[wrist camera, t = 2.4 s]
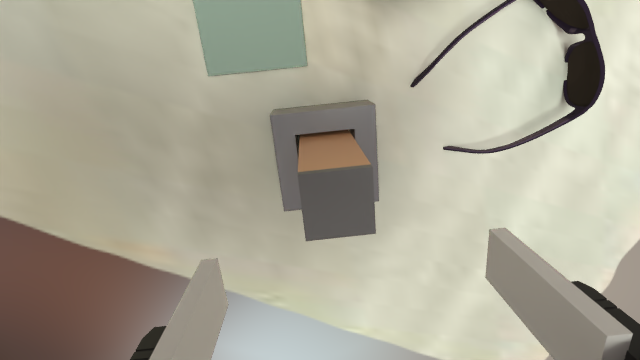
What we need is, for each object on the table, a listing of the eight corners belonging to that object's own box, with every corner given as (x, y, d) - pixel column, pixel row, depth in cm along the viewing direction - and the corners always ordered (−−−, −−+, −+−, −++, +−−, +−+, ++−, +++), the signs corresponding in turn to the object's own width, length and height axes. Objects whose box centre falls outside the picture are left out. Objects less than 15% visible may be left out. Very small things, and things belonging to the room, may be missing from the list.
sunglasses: (582, 92, 36) (623, 97, 32) (453, 169, 39) (473, 184, 34) (538, -28, 32) (578, -44, 28) (397, 66, 35) (412, 67, 30)
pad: (209, 76, 34) (208, 76, 34) (186, -39, 30) (185, -40, 30) (307, 65, 34) (307, 66, 34) (295, -49, 31) (295, -51, 30)
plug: (305, 174, 38) (305, 241, 24) (299, 130, 36) (297, 174, 22) (348, 169, 38) (375, 233, 24) (345, 125, 36) (372, 166, 22)
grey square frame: (285, 196, 39) (284, 211, 35) (273, 109, 35) (269, 115, 31) (371, 187, 39) (379, 201, 35) (367, 99, 35) (375, 104, 32)
